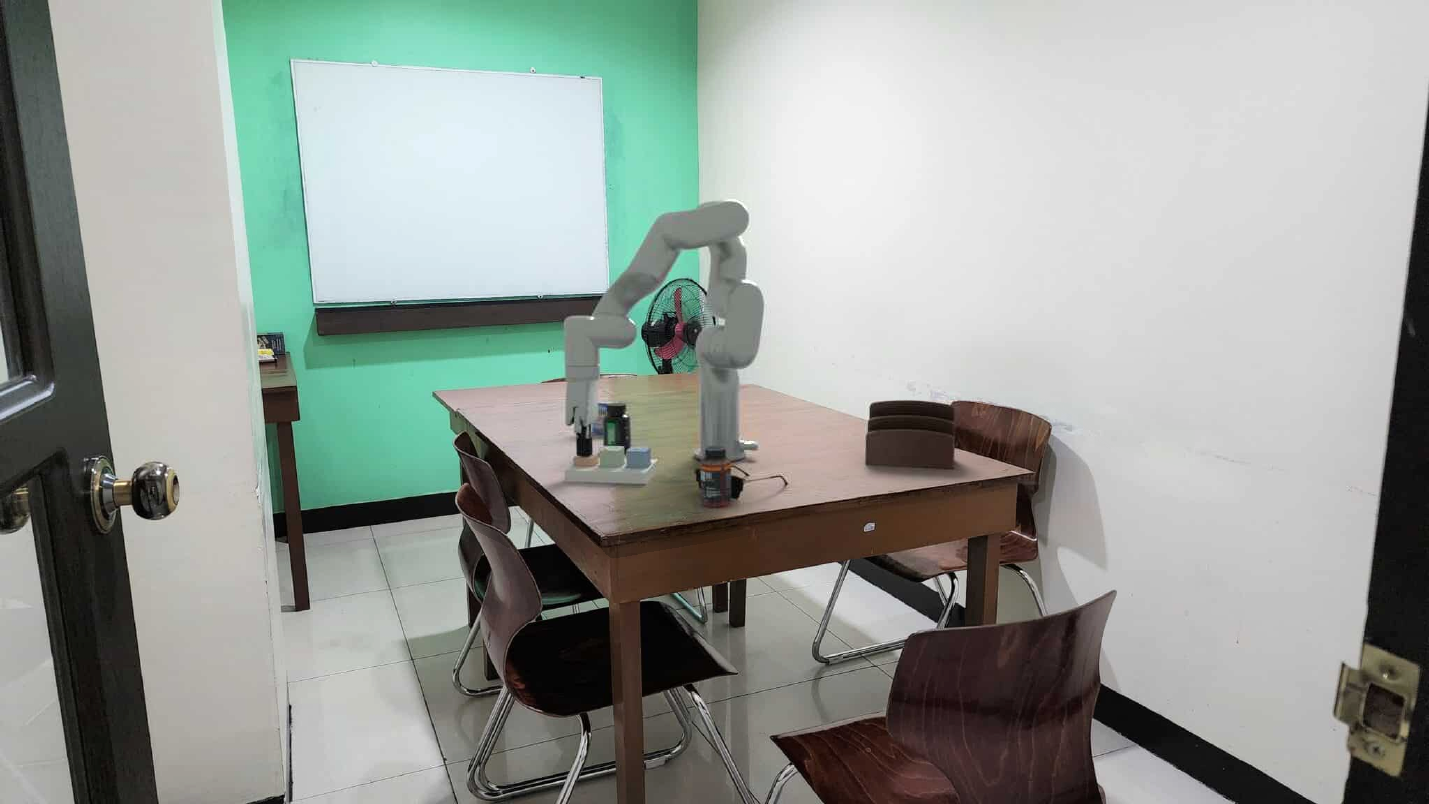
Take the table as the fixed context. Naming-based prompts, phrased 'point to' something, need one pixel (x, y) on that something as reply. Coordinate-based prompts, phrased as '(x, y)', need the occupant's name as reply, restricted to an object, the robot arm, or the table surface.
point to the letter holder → (911, 434)
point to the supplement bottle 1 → (617, 426)
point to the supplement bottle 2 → (715, 478)
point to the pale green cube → (612, 456)
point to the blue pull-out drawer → (638, 457)
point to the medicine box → (600, 417)
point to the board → (611, 474)
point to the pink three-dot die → (585, 461)
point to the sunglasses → (735, 482)
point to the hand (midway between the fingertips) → (584, 454)
